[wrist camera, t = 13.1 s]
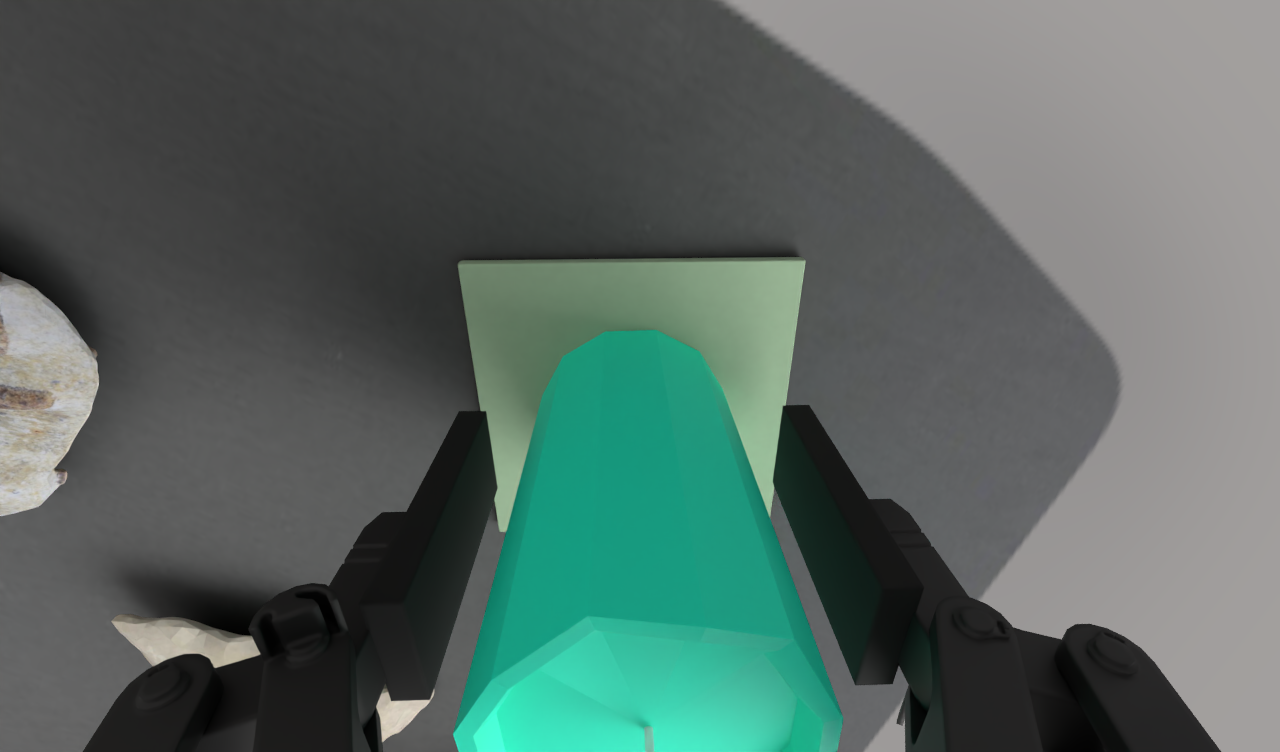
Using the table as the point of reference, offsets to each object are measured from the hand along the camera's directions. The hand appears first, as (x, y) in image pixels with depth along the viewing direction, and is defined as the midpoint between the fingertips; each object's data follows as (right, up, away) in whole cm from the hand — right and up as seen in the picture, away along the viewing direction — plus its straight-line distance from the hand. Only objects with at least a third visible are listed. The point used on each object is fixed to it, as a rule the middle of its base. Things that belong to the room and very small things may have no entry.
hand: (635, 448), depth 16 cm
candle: (0, +1, +2) cm, 2 cm away
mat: (0, +1, +2) cm, 2 cm away
